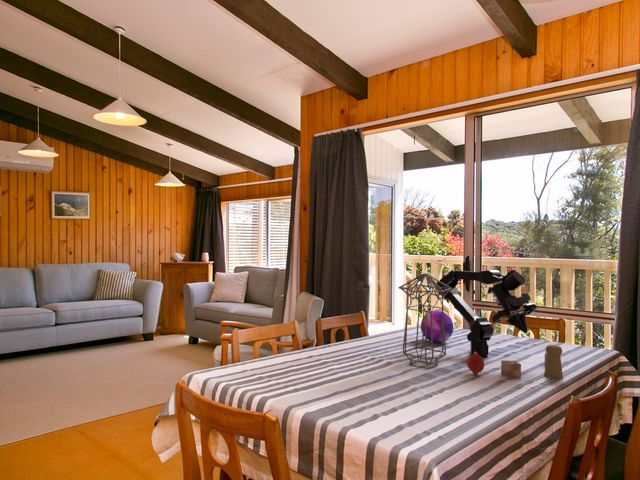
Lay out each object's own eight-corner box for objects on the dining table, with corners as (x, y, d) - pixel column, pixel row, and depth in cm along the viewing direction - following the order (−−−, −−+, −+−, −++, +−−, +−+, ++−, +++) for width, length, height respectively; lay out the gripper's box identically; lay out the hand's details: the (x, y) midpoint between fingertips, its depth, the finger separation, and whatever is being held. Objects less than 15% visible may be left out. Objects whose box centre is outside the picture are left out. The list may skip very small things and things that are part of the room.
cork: (565, 379, 162) (566, 347, 162) (546, 378, 163) (547, 346, 163) (560, 374, 168) (560, 344, 168) (542, 373, 169) (542, 343, 169)
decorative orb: (457, 346, 212) (457, 313, 212) (423, 345, 213) (424, 312, 213) (448, 339, 227) (449, 308, 227) (417, 338, 228) (418, 308, 228)
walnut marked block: (506, 378, 162) (506, 363, 162) (501, 374, 167) (501, 359, 167) (520, 378, 162) (521, 363, 162) (515, 374, 167) (515, 360, 167)
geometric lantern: (452, 365, 177) (454, 273, 177) (431, 374, 166) (433, 276, 165) (416, 357, 188) (417, 270, 188) (393, 365, 177) (395, 272, 176)
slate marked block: (544, 366, 180) (544, 352, 180) (544, 363, 185) (545, 350, 185) (559, 368, 178) (559, 354, 178) (559, 365, 182) (559, 351, 182)
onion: (484, 373, 168) (484, 350, 168) (484, 377, 162) (484, 354, 162) (467, 371, 169) (467, 349, 170) (466, 375, 164) (467, 352, 164)
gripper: (497, 291, 176) (520, 327, 168) (533, 282, 183) (557, 317, 175) (482, 305, 185) (503, 341, 177) (517, 297, 192) (539, 331, 184)
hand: (526, 332), depth 178 cm, fingers closed
